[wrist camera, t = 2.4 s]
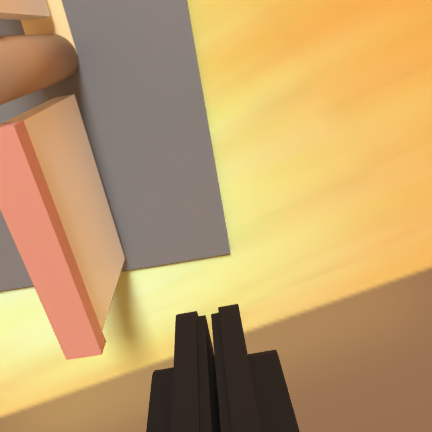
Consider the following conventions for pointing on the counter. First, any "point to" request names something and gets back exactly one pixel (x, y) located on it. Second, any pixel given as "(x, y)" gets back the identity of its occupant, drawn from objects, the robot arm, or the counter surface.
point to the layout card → (134, 128)
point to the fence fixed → (32, 54)
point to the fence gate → (61, 221)
